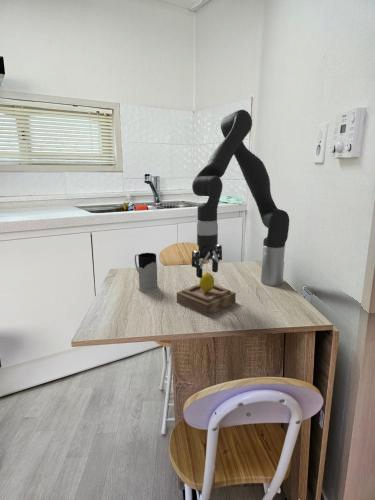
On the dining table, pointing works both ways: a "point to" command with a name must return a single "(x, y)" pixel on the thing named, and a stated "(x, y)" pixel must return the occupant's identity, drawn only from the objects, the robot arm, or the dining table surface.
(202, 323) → the dining table surface
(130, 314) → the dining table surface
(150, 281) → the glass holder
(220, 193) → the robot arm
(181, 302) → the brown wooden crate
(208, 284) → the lemon
